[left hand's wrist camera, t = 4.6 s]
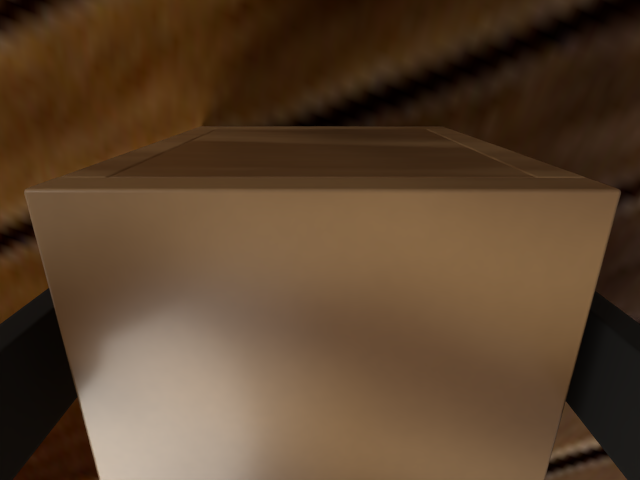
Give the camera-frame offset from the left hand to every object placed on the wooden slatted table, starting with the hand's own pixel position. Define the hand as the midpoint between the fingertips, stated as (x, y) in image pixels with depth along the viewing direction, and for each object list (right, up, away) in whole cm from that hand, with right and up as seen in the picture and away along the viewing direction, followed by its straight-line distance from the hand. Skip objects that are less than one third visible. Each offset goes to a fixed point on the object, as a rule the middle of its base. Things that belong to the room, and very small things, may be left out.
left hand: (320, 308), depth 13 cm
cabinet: (0, -2, +9) cm, 9 cm away
